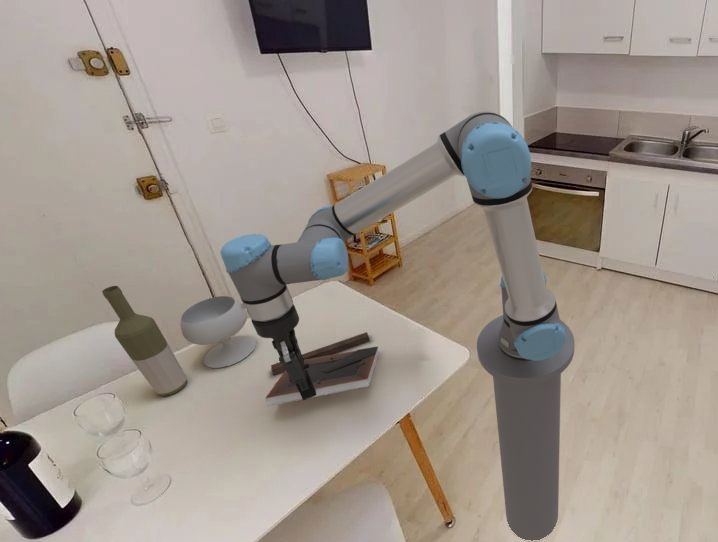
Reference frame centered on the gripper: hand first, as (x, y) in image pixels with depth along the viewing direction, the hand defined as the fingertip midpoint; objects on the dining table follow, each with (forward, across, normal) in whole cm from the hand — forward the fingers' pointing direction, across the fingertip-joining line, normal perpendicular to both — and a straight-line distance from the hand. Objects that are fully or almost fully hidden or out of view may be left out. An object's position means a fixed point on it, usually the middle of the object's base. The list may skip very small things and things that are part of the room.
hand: (309, 395), depth 90 cm
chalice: (+6, -35, -18) cm, 40 cm away
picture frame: (+4, -8, +4) cm, 10 cm away
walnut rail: (+6, -20, +4) cm, 21 cm away
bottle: (+6, -28, -30) cm, 42 cm away
